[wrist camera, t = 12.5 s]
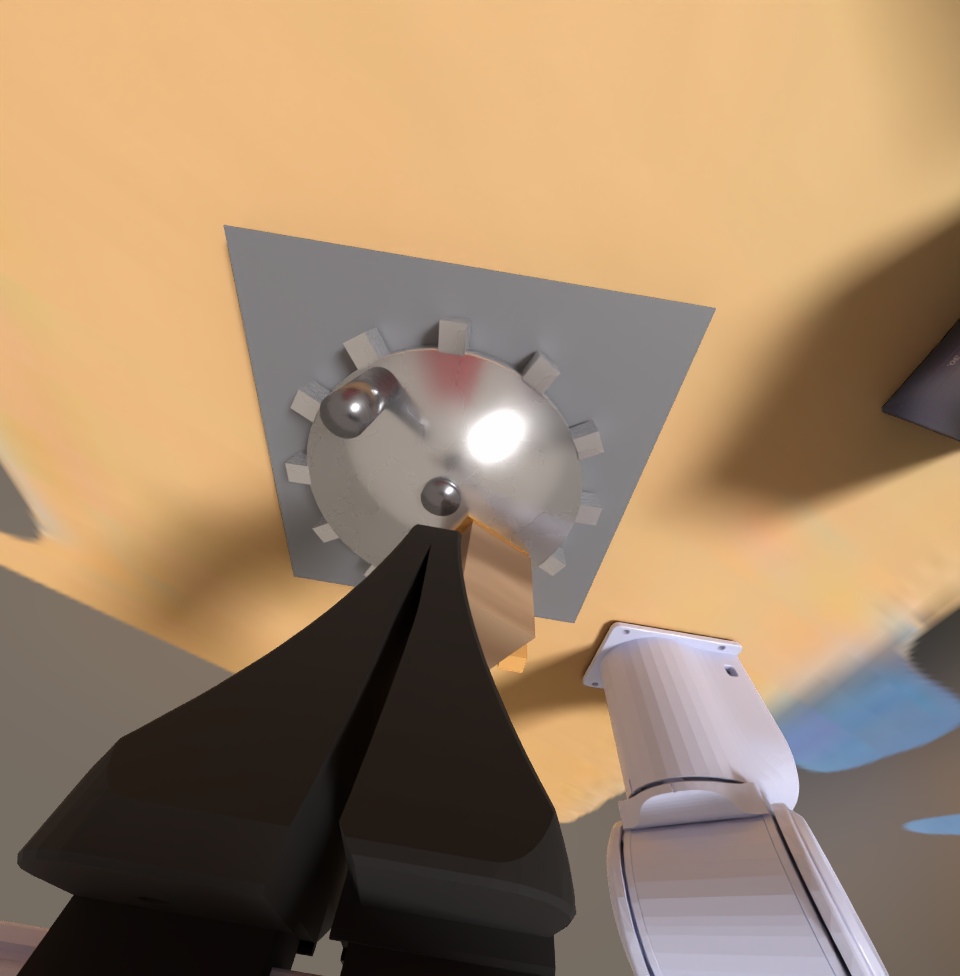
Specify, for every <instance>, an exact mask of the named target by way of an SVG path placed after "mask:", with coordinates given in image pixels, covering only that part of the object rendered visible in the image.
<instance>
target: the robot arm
mask: <svg viewBox="0 0 960 976" xmlns="http://www.w3.org/2000/svg"><path fill="white" fill-rule="evenodd" d="M461 538H462V535H461V533H460V532H459V531H455V530H449V529H443V528H437V527H432V526H426V525H420V524H416V525H415V526H413V527H412V529H411V530H410V531H409V532H408V534H407V535H406V536H405V537H404V538H403V540H402V541H401V542H400V543H399V544H398V545H397V546H396V548H395V549H394V550H393V551H392V552H391V553H390V554H389V555H388V556H387V557H386V558H385V559H384V560H383V561H382V562H381V563H380V564H379V565H378V566H377V567H376V568H375V569H374V570H373V571H372V572H371V573H370V574H369V575H368V576H367V577H366V578H365V579H364V580H363V581H361V582H360V583H359V584H358V585H357V586H356V587H355V588H354V589H353V590H352V591H350V592H349V593H348V594H347V595H346V596H345V597H344V598H342V599H341V600H340V601H339V602H338V603H336V604H335V605H334V606H333V607H332V608H330V609H329V610H328V611H327V612H325V613H324V614H323V615H321V616H320V617H319V618H318V619H316V620H315V621H314V622H312V623H311V624H310V625H308V626H307V627H305V628H304V629H303V630H301V631H300V632H298V633H297V634H296V635H294V636H293V637H291V638H290V639H289V640H287V641H286V642H284V643H283V644H282V645H280V646H279V647H277V648H276V649H274V650H273V651H271V652H270V653H268V654H267V655H265V656H264V657H262V658H260V659H259V660H257V661H255V662H254V663H252V664H251V665H249V666H247V667H246V668H244V669H242V670H241V671H239V672H238V673H236V674H234V675H233V676H231V677H230V678H228V679H226V680H225V681H223V682H221V683H220V684H218V685H217V686H215V687H213V688H211V689H210V690H208V691H206V692H205V693H203V694H201V695H199V696H198V697H196V698H194V699H192V700H190V701H189V702H186V703H185V704H183V705H181V706H179V707H177V708H175V709H174V710H172V711H170V712H168V713H166V714H165V715H163V716H161V717H159V718H157V719H155V720H153V721H152V722H150V723H148V724H146V725H144V726H142V727H141V728H139V729H137V730H135V731H133V732H131V733H129V734H127V735H125V736H124V737H122V738H120V739H119V740H118V741H117V742H116V743H115V745H114V746H113V747H112V748H111V749H110V750H109V751H108V752H107V753H106V754H105V755H104V756H103V757H102V758H101V759H100V760H99V761H98V762H97V763H96V764H95V765H94V766H93V767H92V768H91V769H90V771H89V772H88V773H87V774H86V775H85V776H84V777H83V779H82V780H81V781H80V782H79V783H78V784H77V785H76V787H75V788H74V789H73V790H72V791H71V792H70V794H69V795H68V796H67V797H66V798H65V799H64V801H63V802H62V803H61V804H60V805H59V806H58V808H57V809H56V810H55V811H54V812H53V814H52V815H51V816H50V817H49V818H48V819H47V820H46V822H45V823H44V824H43V825H42V826H41V827H40V829H39V830H38V831H37V832H36V833H35V834H34V836H33V837H32V838H31V839H30V840H29V841H28V843H27V844H26V845H25V846H24V847H23V848H22V850H21V851H20V852H19V853H18V861H17V864H18V865H19V866H20V868H21V869H23V870H24V871H26V872H28V873H30V874H31V875H33V876H35V877H37V878H39V879H42V880H44V881H46V882H48V883H50V884H52V885H54V886H56V887H58V888H60V889H62V890H65V891H67V892H69V893H71V894H73V895H74V896H73V897H72V898H71V900H70V901H69V903H68V904H67V905H66V907H65V908H64V910H63V911H62V912H61V914H60V915H59V917H58V918H57V920H56V921H55V922H54V924H53V925H52V926H51V928H50V929H48V928H42V927H36V926H30V925H24V924H18V923H12V922H7V921H1V920H0V976H321V975H315V974H309V973H303V972H297V971H291V967H292V964H293V961H294V958H295V955H296V954H302V955H308V956H313V953H314V951H315V947H316V944H317V941H319V940H320V939H321V938H322V937H323V936H324V935H325V934H326V933H327V932H328V931H329V930H330V929H331V932H330V937H329V939H330V940H336V941H341V943H342V946H343V951H342V955H341V962H342V964H343V967H342V971H341V975H340V976H555V951H554V934H556V933H557V932H559V931H560V930H562V929H564V928H565V927H567V926H568V925H569V924H570V922H571V921H572V919H573V918H574V916H575V915H576V909H575V896H574V889H573V883H572V877H571V872H570V866H569V862H568V857H567V852H566V848H565V844H564V840H563V836H562V832H561V829H560V825H559V821H558V818H557V814H556V811H555V808H554V806H553V804H552V802H551V800H550V798H549V797H548V795H547V793H546V791H545V789H544V787H543V785H542V783H541V782H540V780H539V778H538V776H537V774H536V772H535V770H534V768H533V766H532V764H531V762H530V760H529V758H528V756H527V754H526V752H525V750H524V748H523V746H522V744H521V742H520V740H519V737H518V735H517V733H516V731H515V729H514V727H513V725H512V723H511V721H510V718H509V716H508V713H507V711H506V709H505V706H504V704H503V702H502V699H501V697H500V695H499V692H498V690H497V688H496V685H495V683H494V680H493V678H492V675H491V673H490V670H489V667H488V664H487V662H486V659H485V656H484V653H483V650H482V647H481V644H480V641H479V638H478V635H477V632H476V628H475V625H474V621H473V618H472V614H471V610H470V606H469V602H468V597H467V592H466V587H465V581H464V576H463V569H462V560H461ZM741 651H742V647H741V645H740V644H739V643H738V642H735V641H729V640H723V639H717V638H711V637H705V636H699V635H693V634H687V633H681V632H675V631H669V630H663V629H657V628H651V627H645V626H639V625H633V624H627V623H621V622H616V623H613V624H612V625H611V627H610V629H609V631H608V632H607V634H606V636H605V638H604V640H603V642H602V644H601V645H600V647H599V649H598V651H597V653H596V655H595V656H594V658H593V660H592V662H591V664H590V666H589V667H588V669H587V671H586V673H585V675H584V677H583V679H582V680H583V684H584V685H586V686H589V687H595V688H601V689H604V692H605V696H606V701H607V706H608V710H609V715H610V720H611V724H612V729H613V734H614V738H615V743H616V748H617V752H618V757H619V762H620V767H621V771H622V776H623V781H624V785H625V790H626V794H627V800H623V801H619V802H618V804H619V809H620V815H621V820H622V821H618V822H617V823H615V824H614V826H613V828H612V831H611V836H610V840H609V843H608V848H607V874H608V883H609V890H610V896H611V902H612V907H613V912H614V916H615V920H616V924H617V928H618V931H619V935H620V938H621V941H622V944H623V947H624V950H625V953H626V955H627V958H628V960H629V963H630V965H631V967H632V970H633V973H634V976H889V975H888V973H887V971H886V969H885V967H884V965H883V963H882V961H881V959H880V957H879V955H878V953H877V951H876V949H875V948H874V946H873V944H872V942H871V940H870V938H869V936H868V934H867V933H866V930H865V928H864V927H863V925H862V923H861V921H860V919H859V917H858V915H857V914H856V912H855V910H854V908H853V906H852V904H851V902H850V900H849V899H848V897H847V895H846V893H845V891H844V889H843V887H842V886H841V884H840V882H839V880H838V878H837V876H836V874H835V873H834V871H833V869H832V867H831V865H830V864H829V862H828V860H827V858H826V856H825V854H824V853H823V851H822V849H821V847H820V845H819V844H818V842H817V840H816V838H815V837H814V835H813V833H812V831H811V830H810V828H809V826H808V825H807V823H806V821H805V820H804V818H803V817H801V816H800V815H799V814H797V813H796V812H794V811H793V808H794V806H795V805H796V802H797V799H798V794H799V781H798V774H797V769H796V765H795V762H794V758H793V755H792V753H791V750H790V748H789V746H788V744H787V742H786V740H785V738H784V736H783V734H782V732H781V731H780V729H779V727H778V726H777V724H776V722H775V720H774V719H773V717H772V715H771V714H770V712H769V710H768V708H767V707H766V705H765V703H764V702H763V700H762V698H761V696H760V695H759V693H758V691H757V689H756V688H755V686H754V684H753V683H752V681H751V679H750V677H749V676H748V674H747V672H746V671H745V669H744V667H743V665H742V664H741V662H740V660H739V658H738V657H737V655H738V654H739V653H740V652H741Z"/></svg>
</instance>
